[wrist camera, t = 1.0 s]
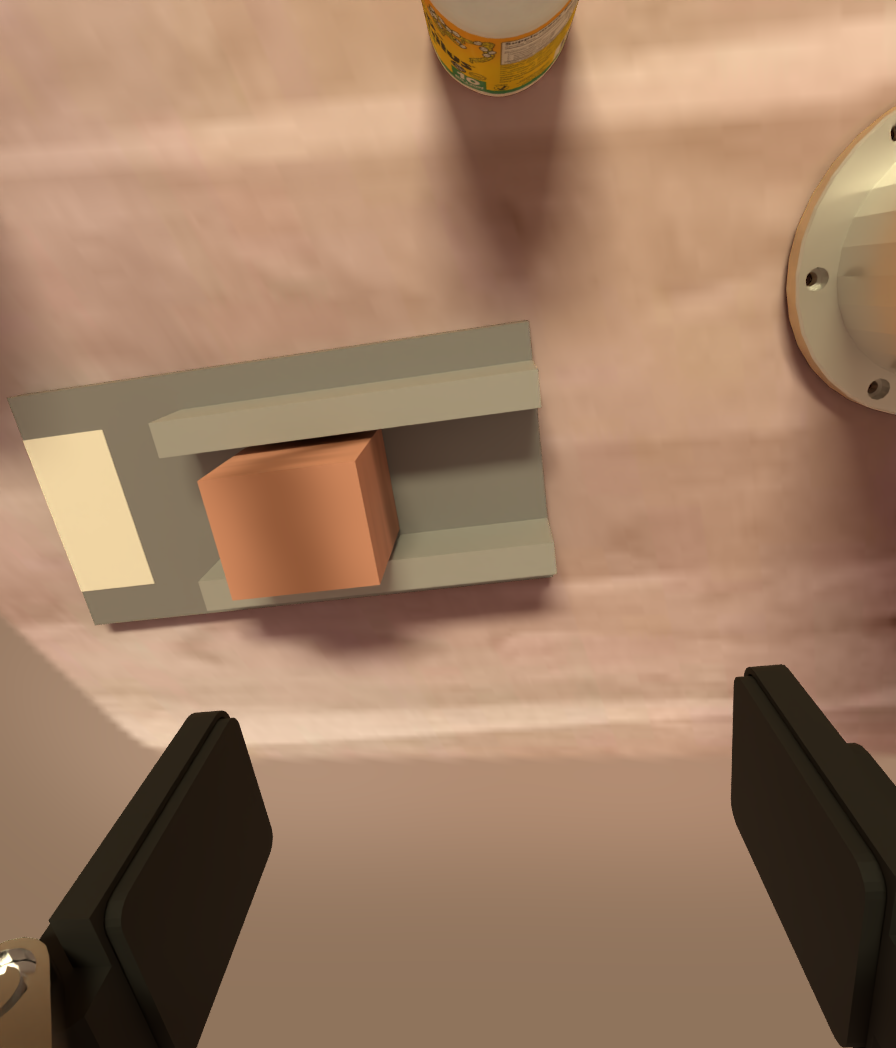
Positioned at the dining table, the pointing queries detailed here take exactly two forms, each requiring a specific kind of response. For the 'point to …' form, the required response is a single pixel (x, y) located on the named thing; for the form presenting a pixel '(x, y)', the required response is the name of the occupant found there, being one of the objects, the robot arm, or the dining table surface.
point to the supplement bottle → (498, 40)
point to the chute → (286, 415)
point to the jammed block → (303, 515)
